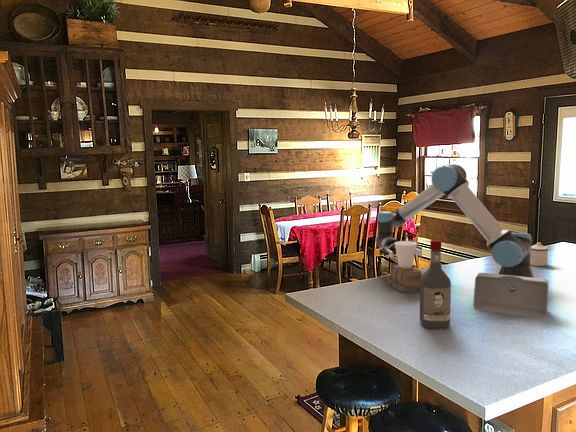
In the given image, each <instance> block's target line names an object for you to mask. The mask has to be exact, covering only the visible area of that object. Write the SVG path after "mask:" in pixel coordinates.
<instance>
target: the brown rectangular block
mask: <svg viewBox="0 0 576 432" xmlns="http://www.w3.org/2000/svg"><path fill="white" fill-rule="evenodd" d="M422 275H423V271H422V270H421V269H419V268H418V267H415V266H412V267H411V268H400V267H399V266H398V262H390V277H386V278H385V279H386V280H385V281H386V283H387V284H389V286H390V287H392V288H393V289H395V291H397V292H398V293H412V292H413V293H414V292H415V293H416V292H419V293H420V278H421V276H422Z"/></svg>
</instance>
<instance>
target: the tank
mask: <svg viewBox="0 0 576 432" xmlns="http://www.w3.org/2000/svg"><path fill="white" fill-rule="evenodd" d="M511 287H513V288H511ZM548 301H549V281H548V279H547V278H543V277H542V278H541V277H534V278H532V277H522V276H511V275H500V274H499V273H487V272H478V273H477V274H476V276H475V278H474V289H473V303H472V306H473V308H474V309H475V310H478V311H486V312H494V313H500V312H501V314H510V315H518V316H523V317H524V316H525V317H531V316H532V317H531V318H539V317H540V318H541V319H545V318H547V317H548V307H549V306H548V305H549V304H548V303H549V302H548Z"/></svg>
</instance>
